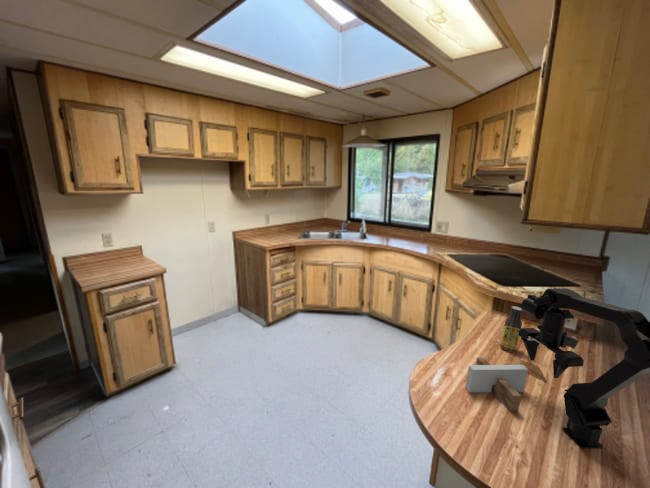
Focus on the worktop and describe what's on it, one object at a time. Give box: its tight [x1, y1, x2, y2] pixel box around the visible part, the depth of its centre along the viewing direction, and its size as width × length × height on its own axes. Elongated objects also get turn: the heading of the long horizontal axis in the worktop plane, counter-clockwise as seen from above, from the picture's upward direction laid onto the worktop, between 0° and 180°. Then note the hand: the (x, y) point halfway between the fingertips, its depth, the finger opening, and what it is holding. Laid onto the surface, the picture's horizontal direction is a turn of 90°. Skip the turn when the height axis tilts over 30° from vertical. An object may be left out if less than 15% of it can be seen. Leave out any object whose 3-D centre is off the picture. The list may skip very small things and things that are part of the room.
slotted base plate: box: [475, 357, 522, 413], centre depth 100 cm, size 20×2×6 cm, turn 3°
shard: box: [518, 359, 548, 383], centre depth 111 cm, size 11×8×2 cm
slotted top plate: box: [465, 364, 529, 393], centre depth 100 cm, size 20×2×9 cm, turn 93°
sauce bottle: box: [499, 305, 523, 353], centre depth 124 cm, size 7×6×20 cm
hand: (543, 368), depth 94 cm, fingers open, 9 cm apart
